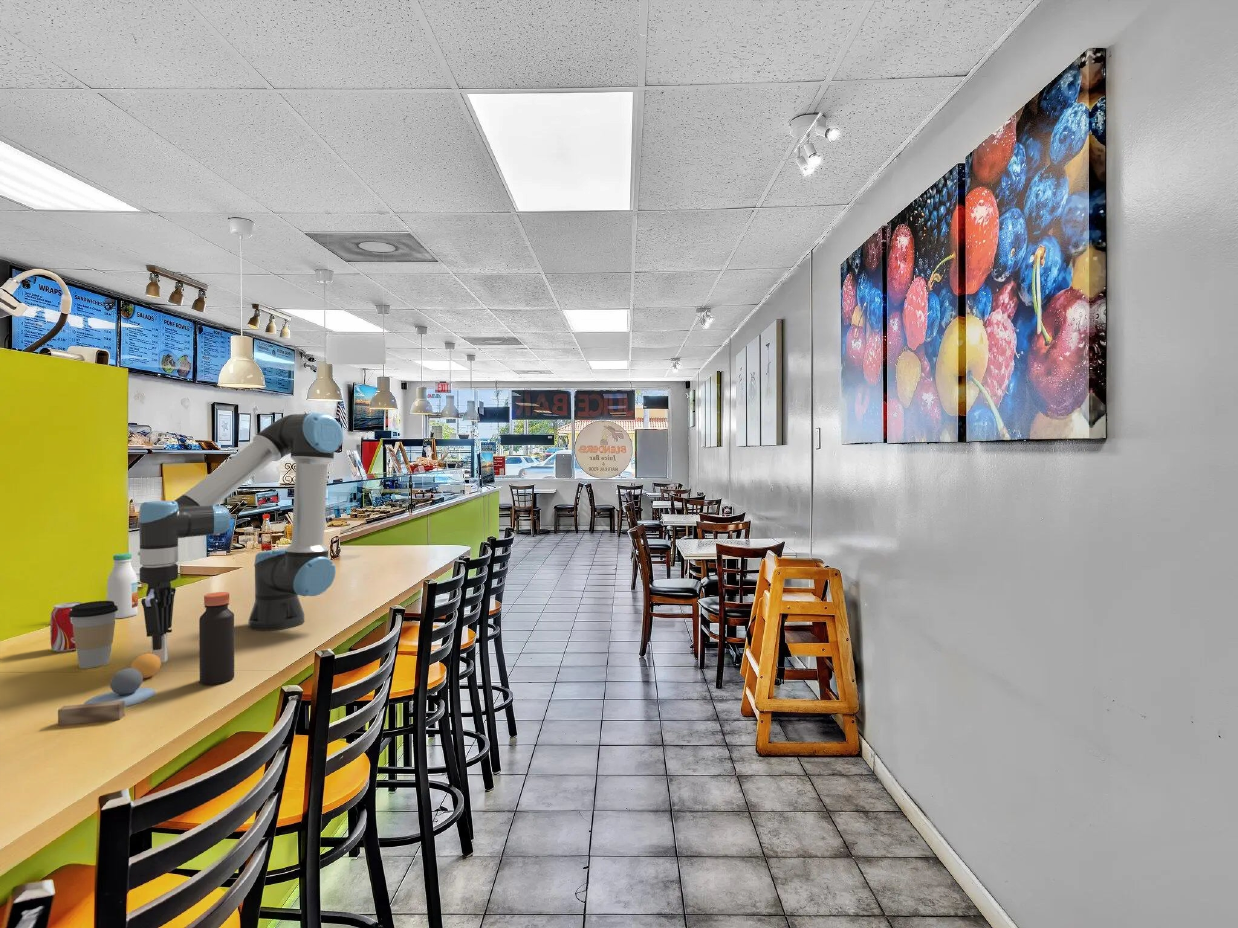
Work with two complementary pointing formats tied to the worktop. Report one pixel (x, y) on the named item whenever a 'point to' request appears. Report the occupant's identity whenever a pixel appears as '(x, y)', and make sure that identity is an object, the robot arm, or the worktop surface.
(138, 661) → the ball
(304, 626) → the worktop surface
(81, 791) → the worktop surface
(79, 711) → the brown wooden block
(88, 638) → the coffee cup
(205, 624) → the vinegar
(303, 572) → the robot arm
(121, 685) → the ball
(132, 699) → the mark
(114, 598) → the milk bottle
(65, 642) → the soda can
